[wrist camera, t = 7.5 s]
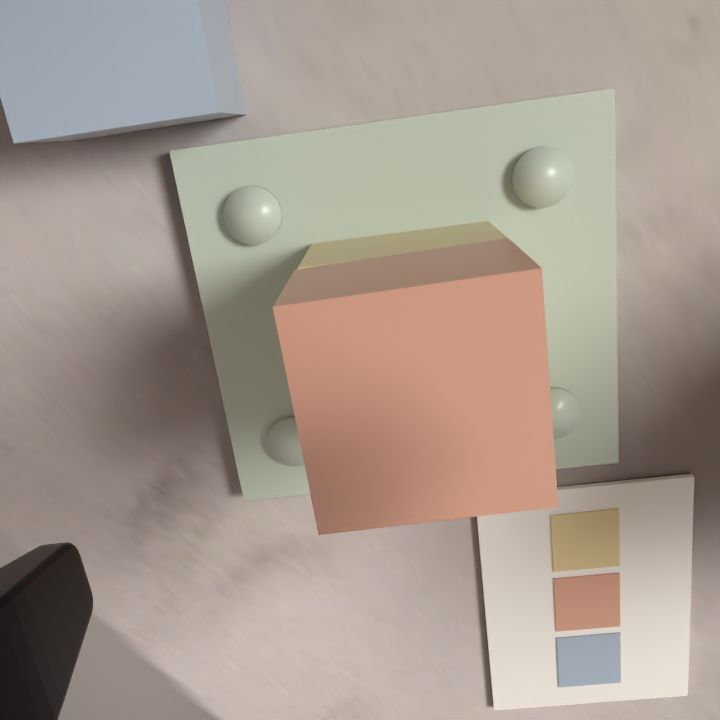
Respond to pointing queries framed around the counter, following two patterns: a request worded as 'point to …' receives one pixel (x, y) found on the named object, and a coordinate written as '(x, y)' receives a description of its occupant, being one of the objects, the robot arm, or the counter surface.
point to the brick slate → (114, 66)
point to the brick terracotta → (421, 385)
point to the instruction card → (590, 594)
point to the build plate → (396, 191)
